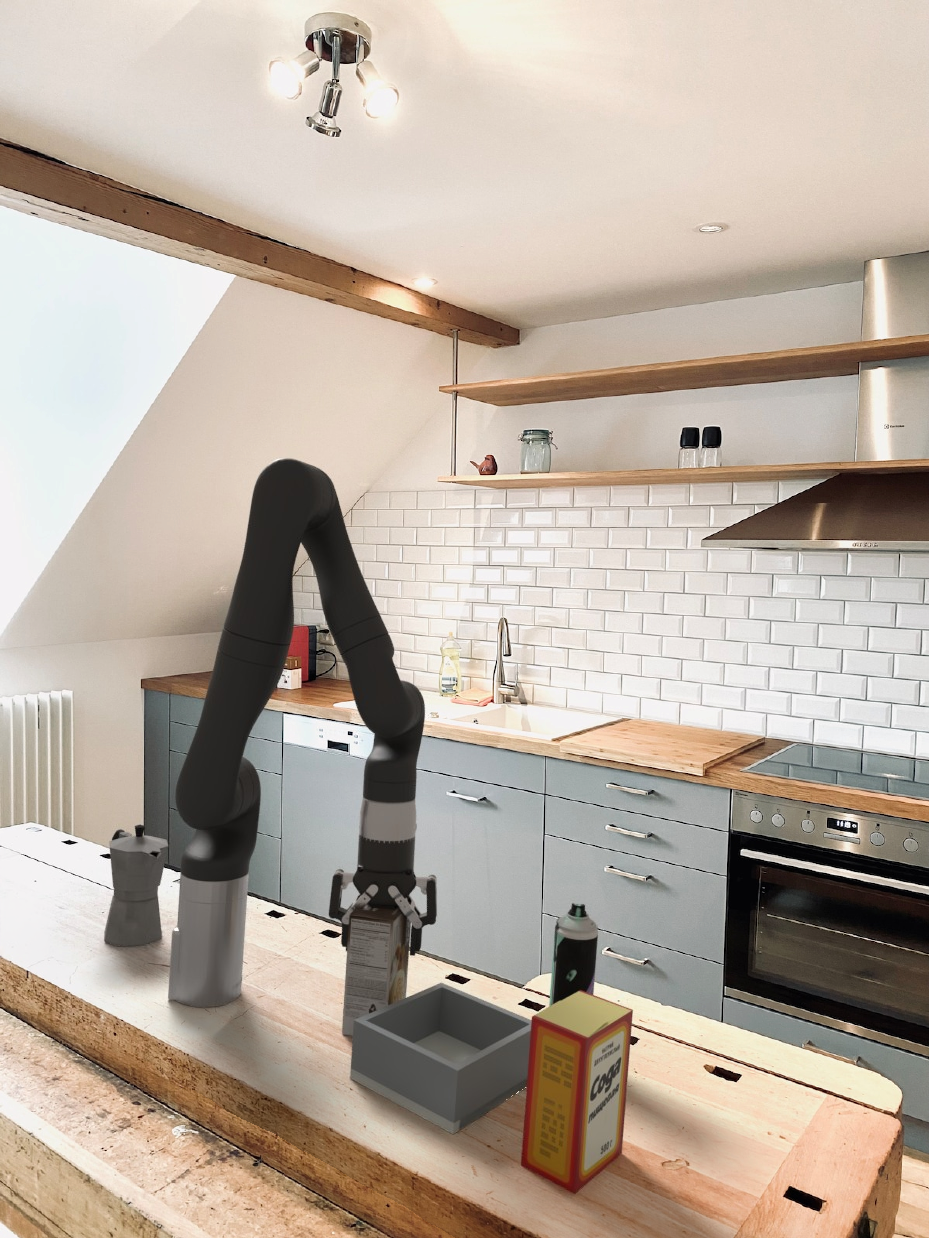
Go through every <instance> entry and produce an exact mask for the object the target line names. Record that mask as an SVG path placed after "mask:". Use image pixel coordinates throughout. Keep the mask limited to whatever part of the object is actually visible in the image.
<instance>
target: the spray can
mask: <svg viewBox="0 0 929 1238" xmlns="http://www.w3.org/2000/svg"><path fill="white" fill-rule="evenodd" d="M598 927H599V924H598V923H597V922H596V921H595V920H593V919H592V918H590V915H589V913H587V911H586V904H584V903H574V902H573V903H571V907H570V909H569V910H568V911H566V914H565V915H563V916H560V917H557V919H556V923H555V926H554V938H553V950H552V962H551V963H552V964H551V965H552V966H551V977H550V989H549V991H550V992H549V1002H548V1003H549V1004H548V1007H550V1006H551V1005H553V1004H555V1003H557V1002H558V1001H562V1000H563V999H565V998H567V997H569V996H571V995H573V994H574V993H576V992H578V991H580V990H581V991H584V992H587V993H589V994H592V995H594V991H595V979H596V978H595V977H596V964H597V953H598V940H599V939H598V938H599V930H598Z"/></svg>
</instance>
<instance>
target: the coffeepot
mask: <svg viewBox="0 0 929 1238" xmlns="http://www.w3.org/2000/svg"><path fill="white" fill-rule="evenodd" d="M145 829H146V825H143V824H136V825H134V830H135V835H132V833H131V832H129V831H125V830H124V829H117V830H116V831H115V832H114V834H113V836H112V838H111V840H110V841H109V843H108V844H109V855H110V867H111V877H112V878H111V879H112V888H113V895H112V898H111V902H110V905H109V911H108V915H107V919H106V924H105V927H104V942H106V943H107V944H109V945H111V946H115V947H120V948H121V947H123V948H135V947H144V946H148V945H151V944H154V943H156V942H158V941H159V940H161V938H163V931H162V923H161V913H160V903H159V893H158V892H159V886H160V885H161V883H162V878H163V872H164V868H165V863H166V858H167V853H168V848H169V844H168V840H167V839H164V838H162V837H161V838H160V837H155V836H152V835H144V832H145Z"/></svg>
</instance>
